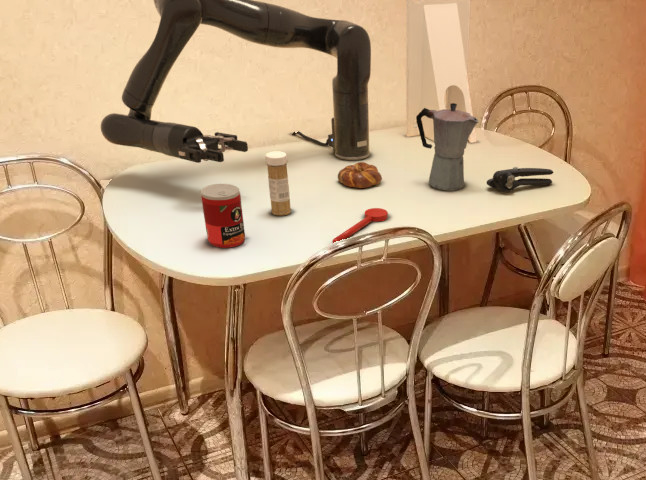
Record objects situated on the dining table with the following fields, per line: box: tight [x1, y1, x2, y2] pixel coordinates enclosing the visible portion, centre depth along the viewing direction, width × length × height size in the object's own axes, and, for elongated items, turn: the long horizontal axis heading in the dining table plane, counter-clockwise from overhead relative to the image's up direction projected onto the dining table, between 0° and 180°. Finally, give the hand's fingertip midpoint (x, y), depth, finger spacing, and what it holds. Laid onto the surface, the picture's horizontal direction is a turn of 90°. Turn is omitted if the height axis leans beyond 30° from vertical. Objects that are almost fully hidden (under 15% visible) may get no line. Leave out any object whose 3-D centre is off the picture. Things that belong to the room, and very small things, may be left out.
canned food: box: [200, 183, 246, 249], centre depth 159 cm, size 8×8×11 cm
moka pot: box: [415, 103, 480, 192], centre depth 187 cm, size 10×15×20 cm, turn 78°
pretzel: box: [337, 161, 383, 189], centre depth 193 cm, size 12×11×4 cm
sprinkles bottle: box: [265, 150, 292, 216], centre depth 172 cm, size 5×5×14 cm
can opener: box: [486, 166, 554, 193], centre depth 191 cm, size 18×7×6 cm, turn 114°
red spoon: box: [331, 207, 389, 244], centre depth 169 cm, size 20×5×1 cm, turn 154°
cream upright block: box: [405, 0, 477, 144], centre depth 215 cm, size 20×14×40 cm
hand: (234, 152), depth 173 cm, fingers open, 8 cm apart
